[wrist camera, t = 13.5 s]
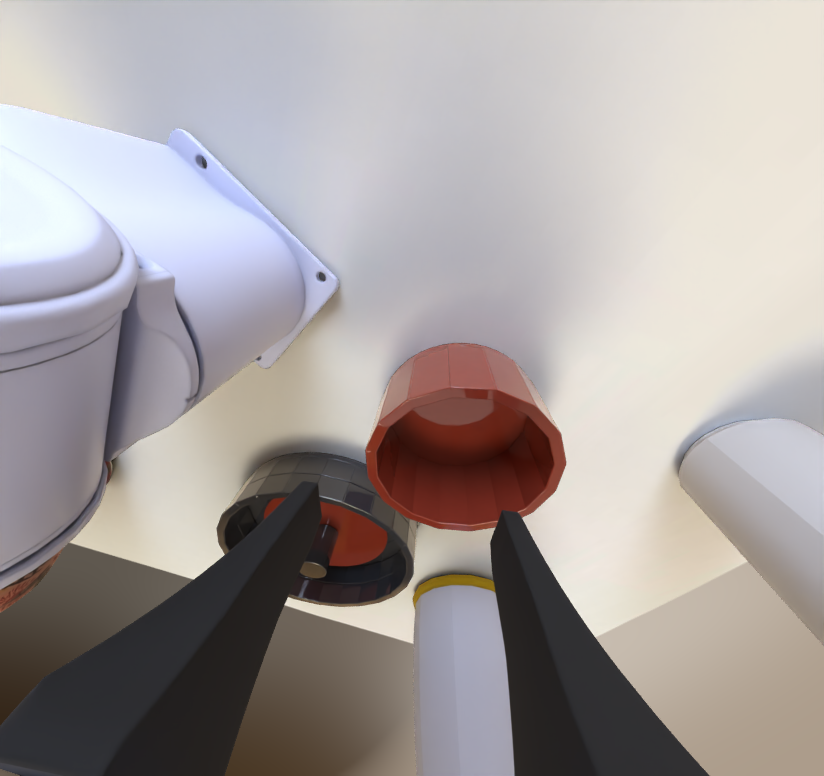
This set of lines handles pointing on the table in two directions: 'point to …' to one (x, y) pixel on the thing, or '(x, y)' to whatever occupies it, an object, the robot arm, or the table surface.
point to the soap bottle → (460, 680)
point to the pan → (339, 487)
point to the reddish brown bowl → (463, 440)
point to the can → (767, 504)
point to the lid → (340, 539)
